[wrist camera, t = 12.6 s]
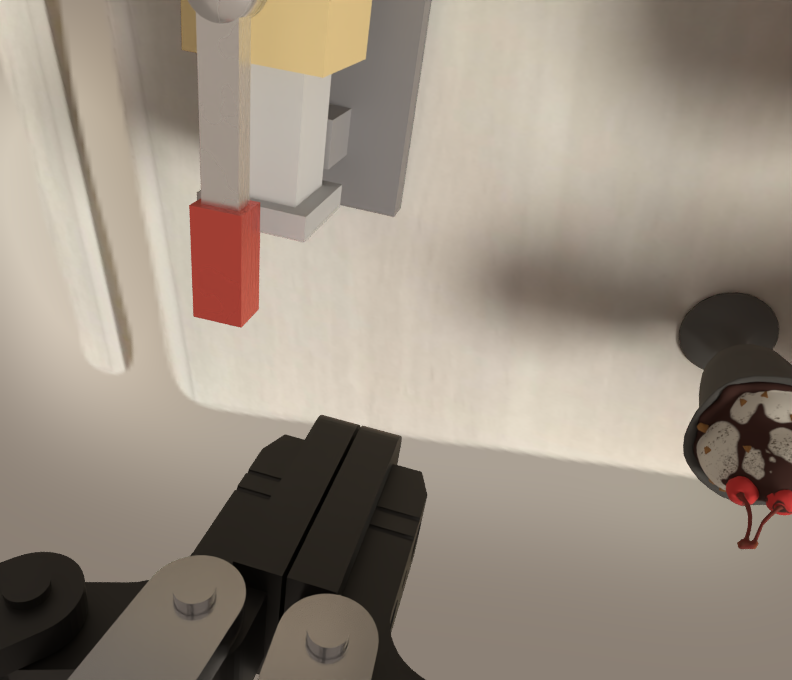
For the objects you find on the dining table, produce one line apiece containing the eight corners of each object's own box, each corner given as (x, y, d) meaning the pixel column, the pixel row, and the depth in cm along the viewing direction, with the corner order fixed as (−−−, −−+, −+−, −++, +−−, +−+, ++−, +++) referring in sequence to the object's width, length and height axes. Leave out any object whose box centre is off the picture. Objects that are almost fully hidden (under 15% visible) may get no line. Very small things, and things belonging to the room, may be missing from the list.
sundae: (645, 368, 40) (671, 562, 27) (689, 264, 36) (743, 429, 23) (762, 400, 39) (846, 614, 26) (819, 295, 35) (948, 484, 23)
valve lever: (200, -68, 24) (173, -69, 22) (270, -58, 24) (248, -59, 22) (209, 297, 31) (189, 315, 30) (263, 309, 31) (245, 328, 29)
